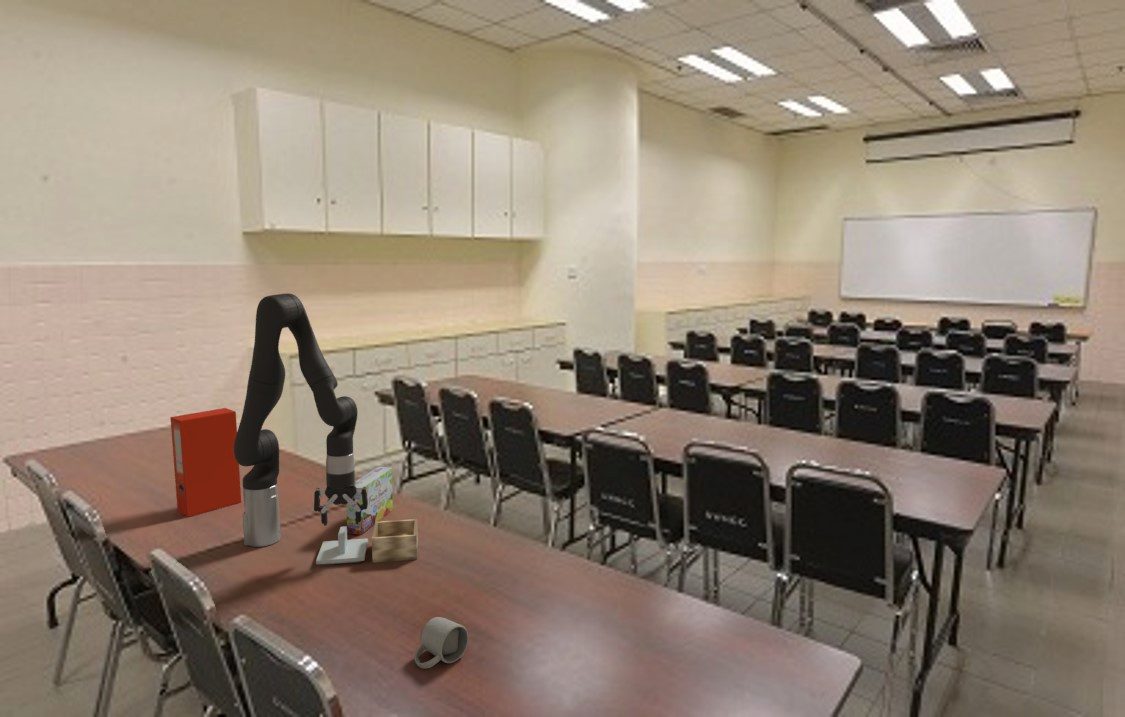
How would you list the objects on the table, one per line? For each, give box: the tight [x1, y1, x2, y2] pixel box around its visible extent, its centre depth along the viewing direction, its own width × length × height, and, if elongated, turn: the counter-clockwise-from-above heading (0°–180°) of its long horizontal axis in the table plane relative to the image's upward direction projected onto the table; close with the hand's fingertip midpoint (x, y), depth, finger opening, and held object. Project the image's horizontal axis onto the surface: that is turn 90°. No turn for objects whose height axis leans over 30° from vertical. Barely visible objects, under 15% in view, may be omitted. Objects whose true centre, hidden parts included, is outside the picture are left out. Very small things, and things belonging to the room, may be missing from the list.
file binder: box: [169, 407, 242, 518], centre depth 222 cm, size 8×17×32 cm, turn 141°
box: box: [371, 518, 419, 564], centre depth 192 cm, size 12×12×7 cm
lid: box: [315, 525, 369, 566], centre depth 189 cm, size 13×13×8 cm
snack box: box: [346, 466, 394, 536], centre depth 213 cm, size 21×6×15 cm, turn 168°
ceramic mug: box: [413, 616, 469, 670], centre depth 142 cm, size 11×8×8 cm
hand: (341, 523), depth 188 cm, fingers open, 8 cm apart
